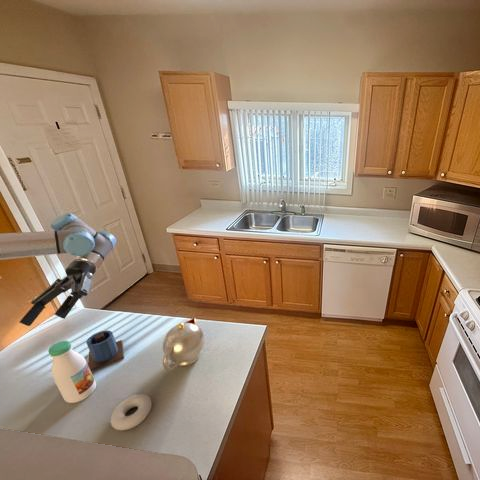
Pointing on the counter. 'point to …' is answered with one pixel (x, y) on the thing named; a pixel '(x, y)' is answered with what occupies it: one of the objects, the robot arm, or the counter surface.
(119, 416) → the donut
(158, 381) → the counter surface
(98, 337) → the post stand
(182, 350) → the teapot
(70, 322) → the counter surface
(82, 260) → the robot arm
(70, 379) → the milk bottle
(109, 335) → the ring sleeve
